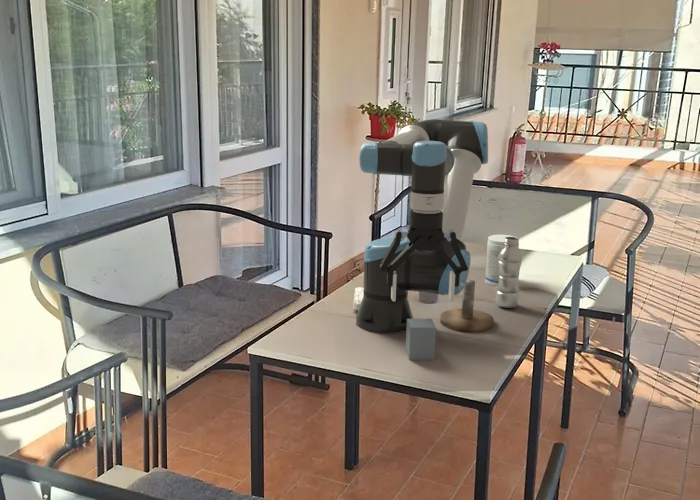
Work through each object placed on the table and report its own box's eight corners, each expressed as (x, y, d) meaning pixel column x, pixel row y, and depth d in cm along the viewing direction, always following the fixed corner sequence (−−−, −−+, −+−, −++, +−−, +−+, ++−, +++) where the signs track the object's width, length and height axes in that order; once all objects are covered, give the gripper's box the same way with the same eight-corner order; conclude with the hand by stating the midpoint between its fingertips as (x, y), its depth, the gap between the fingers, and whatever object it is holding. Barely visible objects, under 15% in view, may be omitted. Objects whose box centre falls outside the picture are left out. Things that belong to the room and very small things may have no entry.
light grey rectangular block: (409, 359, 185) (410, 327, 183) (405, 350, 190) (406, 318, 188) (434, 359, 185) (436, 327, 183) (430, 349, 191) (431, 318, 189)
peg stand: (445, 332, 203) (447, 289, 200) (436, 313, 216) (438, 273, 213) (499, 331, 204) (502, 289, 201) (486, 313, 217) (489, 273, 214)
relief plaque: (391, 295, 233) (391, 285, 232) (391, 313, 217) (391, 302, 216) (354, 294, 233) (355, 284, 232) (352, 312, 218) (352, 301, 217)
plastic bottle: (518, 311, 220) (524, 241, 215) (494, 309, 221) (499, 240, 216) (518, 304, 226) (524, 236, 221) (494, 302, 227) (499, 234, 222)
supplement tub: (490, 277, 251) (493, 232, 248) (519, 282, 247) (523, 236, 244) (480, 285, 243) (483, 239, 239) (510, 290, 239) (514, 243, 235)
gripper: (373, 213, 174) (370, 304, 179) (484, 214, 176) (478, 304, 181) (370, 206, 181) (367, 294, 187) (477, 207, 183) (471, 294, 189)
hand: (422, 299), depth 184 cm, fingers open, 13 cm apart
